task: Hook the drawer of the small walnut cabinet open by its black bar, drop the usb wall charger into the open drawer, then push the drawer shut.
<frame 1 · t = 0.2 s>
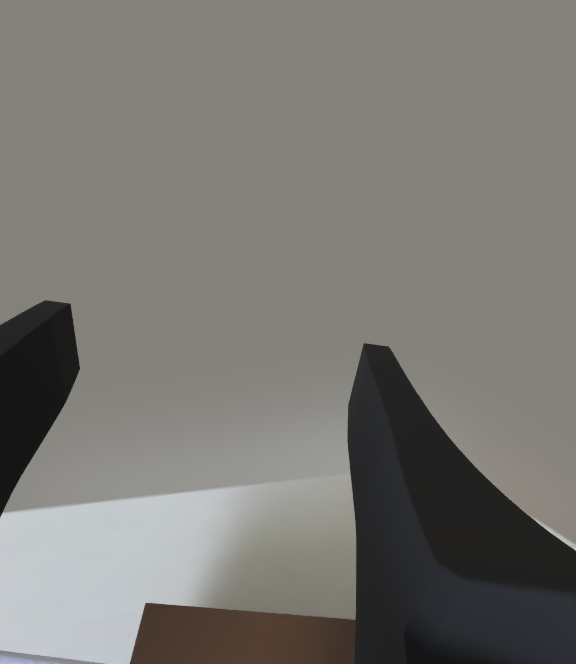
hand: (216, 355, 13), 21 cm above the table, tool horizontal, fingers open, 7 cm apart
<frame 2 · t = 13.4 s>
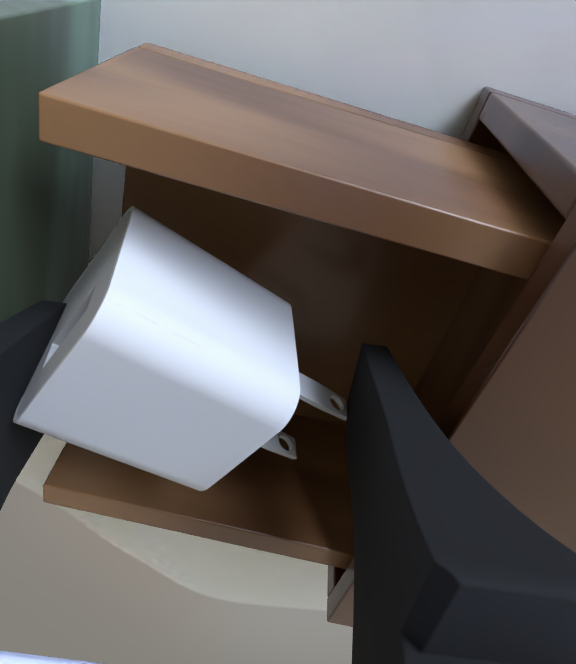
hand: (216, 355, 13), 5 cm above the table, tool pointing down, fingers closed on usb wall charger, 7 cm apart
usb wall charger: (216, 318, 14), point 4 cm above the table, touching gripper
drawer: (161, 303, 14), point 4 cm above the table, slide at 9.8 cm
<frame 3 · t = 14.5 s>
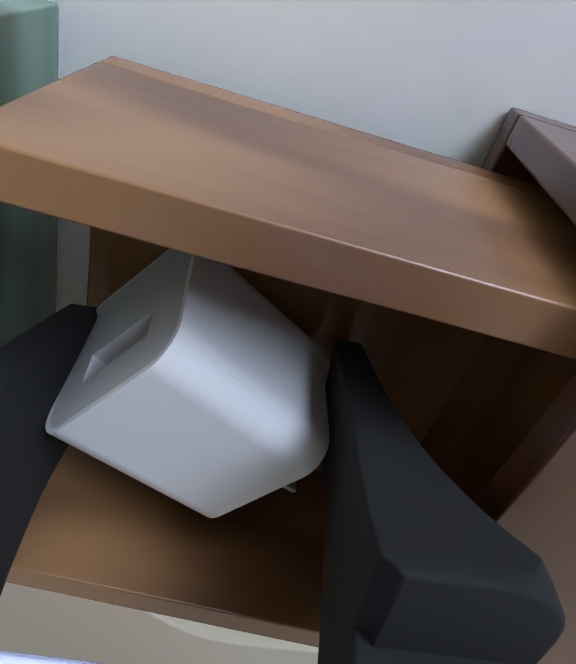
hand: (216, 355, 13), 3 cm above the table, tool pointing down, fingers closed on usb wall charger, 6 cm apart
usb wall charger: (242, 345, 14), point 2 cm above the table, touching drawer, gripper
drawer: (132, 355, 12), point 4 cm above the table, slide at 10.0 cm, touching usb wall charger
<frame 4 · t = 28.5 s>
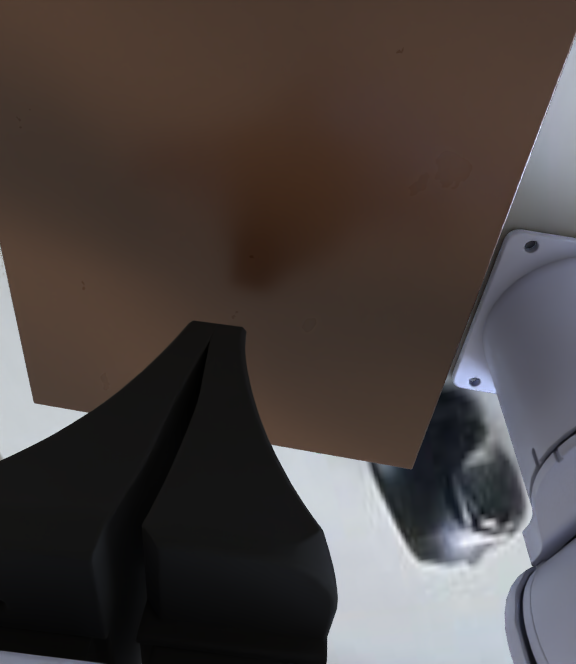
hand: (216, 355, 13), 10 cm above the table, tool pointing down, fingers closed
cabinet: (274, 162, 21), on the table
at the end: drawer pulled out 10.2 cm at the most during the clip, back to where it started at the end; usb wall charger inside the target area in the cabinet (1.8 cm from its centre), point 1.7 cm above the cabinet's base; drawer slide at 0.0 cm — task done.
